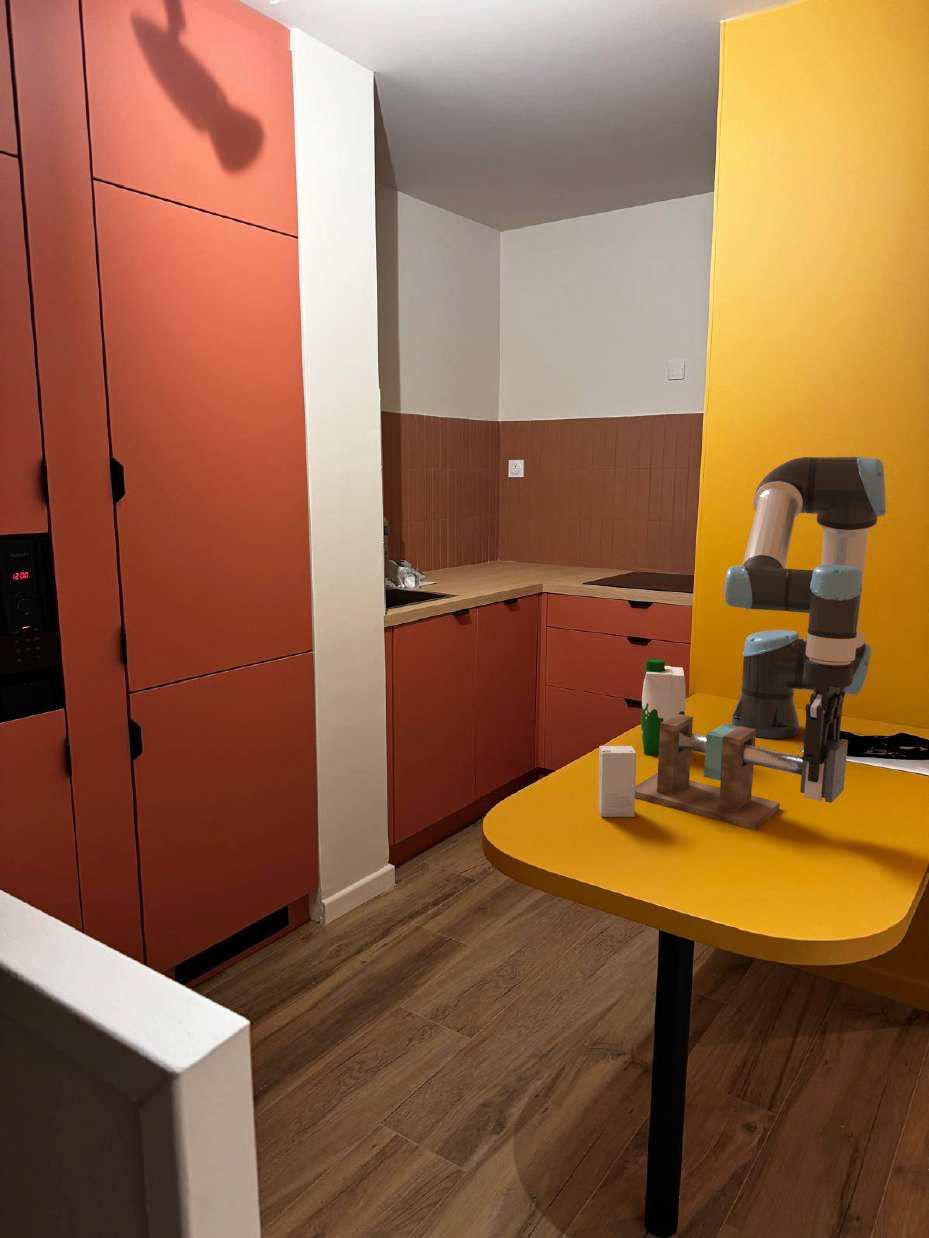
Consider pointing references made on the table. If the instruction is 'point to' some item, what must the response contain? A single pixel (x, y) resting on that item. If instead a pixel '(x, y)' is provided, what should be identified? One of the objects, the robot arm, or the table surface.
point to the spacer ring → (715, 751)
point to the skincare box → (617, 781)
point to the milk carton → (660, 700)
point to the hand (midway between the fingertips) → (817, 794)
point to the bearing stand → (701, 798)
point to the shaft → (787, 761)
